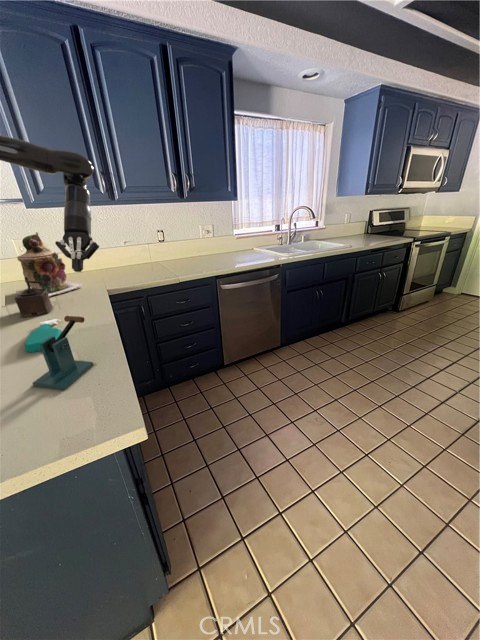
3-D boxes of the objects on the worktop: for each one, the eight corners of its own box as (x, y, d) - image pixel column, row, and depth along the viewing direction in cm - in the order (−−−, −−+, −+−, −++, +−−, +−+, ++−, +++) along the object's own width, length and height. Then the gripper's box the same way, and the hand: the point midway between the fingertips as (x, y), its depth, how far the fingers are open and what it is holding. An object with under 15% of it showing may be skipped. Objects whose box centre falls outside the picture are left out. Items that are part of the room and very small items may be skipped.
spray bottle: (24, 354, 89) (34, 327, 109) (61, 346, 94) (65, 321, 114) (21, 346, 88) (32, 320, 108) (59, 338, 93) (63, 315, 113)
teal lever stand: (65, 362, 85) (54, 329, 80) (93, 365, 83) (84, 331, 78) (33, 386, 74) (18, 350, 69) (65, 389, 73) (51, 353, 68)
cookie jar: (14, 294, 147) (-9, 234, 133) (58, 282, 167) (42, 229, 153) (41, 300, 137) (19, 236, 123) (84, 287, 157) (69, 231, 144)
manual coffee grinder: (20, 318, 117) (5, 278, 109) (27, 309, 126) (13, 272, 119) (61, 312, 123) (49, 274, 115) (64, 304, 132) (53, 268, 124)
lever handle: (70, 319, 83) (65, 313, 81) (86, 320, 82) (81, 315, 80) (46, 351, 75) (41, 347, 73) (63, 353, 74) (58, 348, 72)
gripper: (49, 213, 82) (48, 268, 81) (94, 214, 83) (94, 268, 82) (62, 223, 89) (61, 273, 88) (103, 224, 91) (103, 274, 90)
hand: (77, 271), depth 85 cm, fingers closed
